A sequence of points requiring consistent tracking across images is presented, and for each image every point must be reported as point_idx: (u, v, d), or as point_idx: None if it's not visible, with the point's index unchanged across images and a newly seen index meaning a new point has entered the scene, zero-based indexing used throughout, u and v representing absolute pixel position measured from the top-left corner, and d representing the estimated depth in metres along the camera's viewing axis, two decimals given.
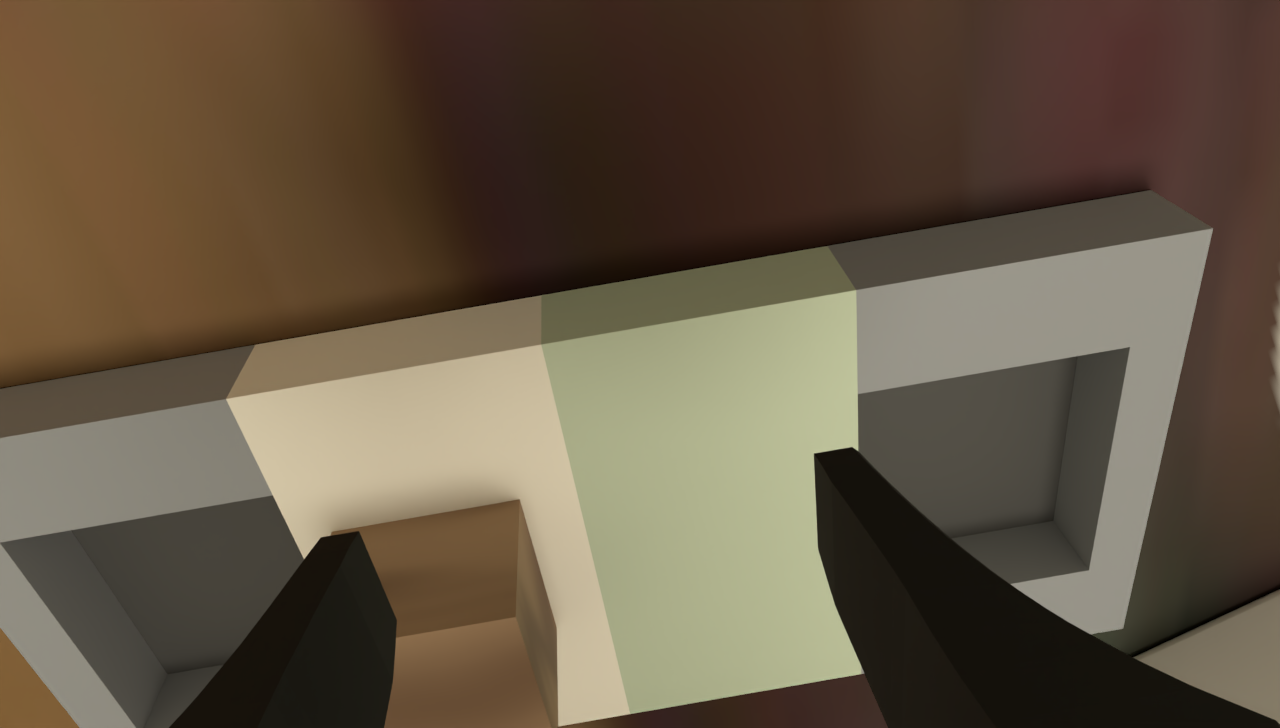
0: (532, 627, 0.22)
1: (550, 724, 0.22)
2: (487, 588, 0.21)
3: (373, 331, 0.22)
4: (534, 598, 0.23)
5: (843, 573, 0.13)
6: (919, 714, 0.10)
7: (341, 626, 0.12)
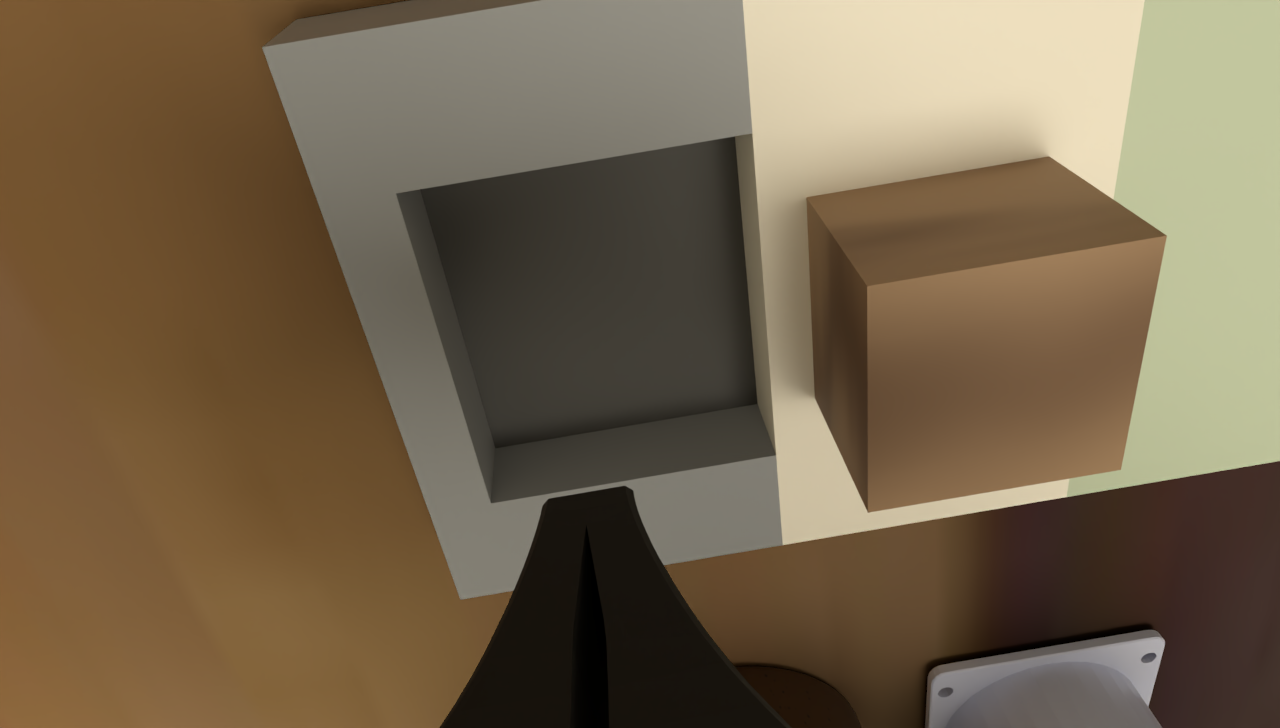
0: None
1: (1127, 427, 0.17)
2: (1093, 218, 0.15)
3: None
4: None
5: None
6: None
7: (591, 583, 0.12)
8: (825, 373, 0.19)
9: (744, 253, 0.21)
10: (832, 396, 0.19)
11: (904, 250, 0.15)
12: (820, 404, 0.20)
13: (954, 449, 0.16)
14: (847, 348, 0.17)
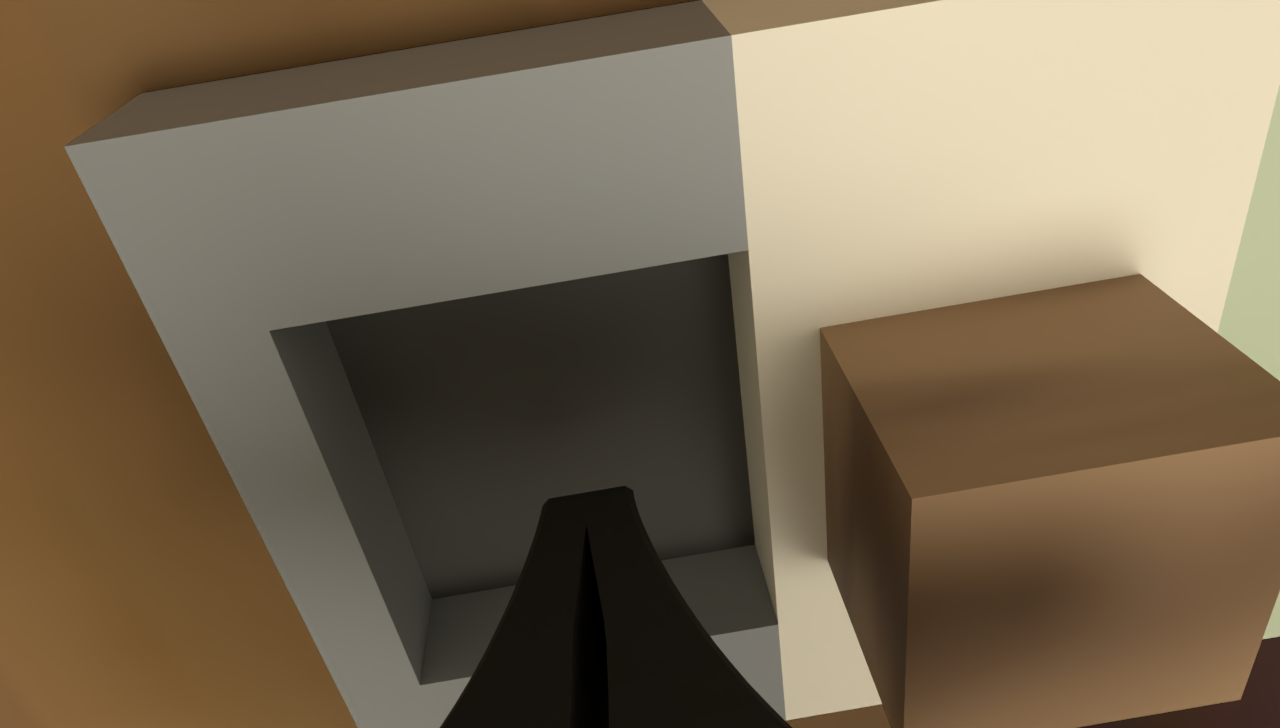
0: None
1: (1254, 651, 0.12)
2: (1222, 387, 0.11)
3: None
4: None
5: None
6: None
7: (591, 583, 0.12)
8: (843, 546, 0.15)
9: (738, 375, 0.16)
10: (852, 580, 0.14)
11: (960, 432, 0.11)
12: (835, 573, 0.16)
13: (1021, 684, 0.12)
14: (876, 547, 0.12)
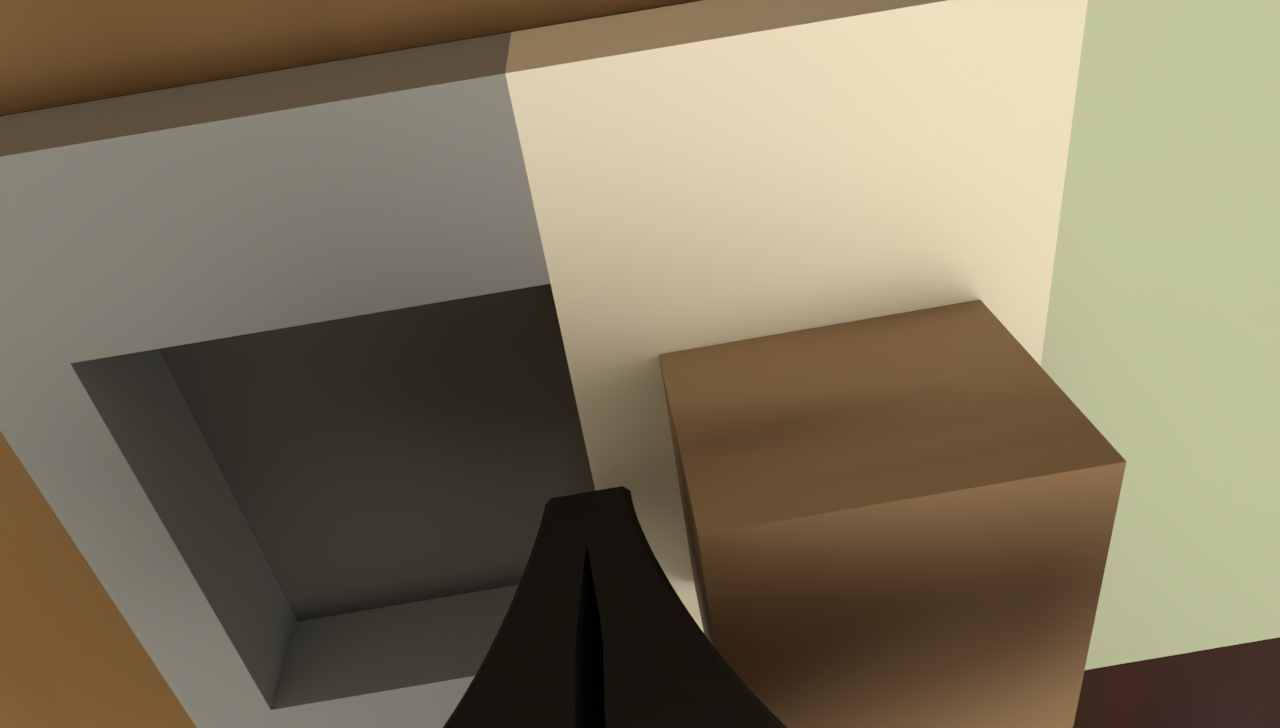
0: None
1: (1079, 680, 0.12)
2: (1026, 420, 0.11)
3: (723, 2, 0.13)
4: None
5: None
6: None
7: (594, 583, 0.12)
8: (694, 571, 0.15)
9: None
10: (701, 606, 0.14)
11: (763, 465, 0.11)
12: (697, 597, 0.16)
13: (844, 714, 0.12)
14: (699, 576, 0.12)
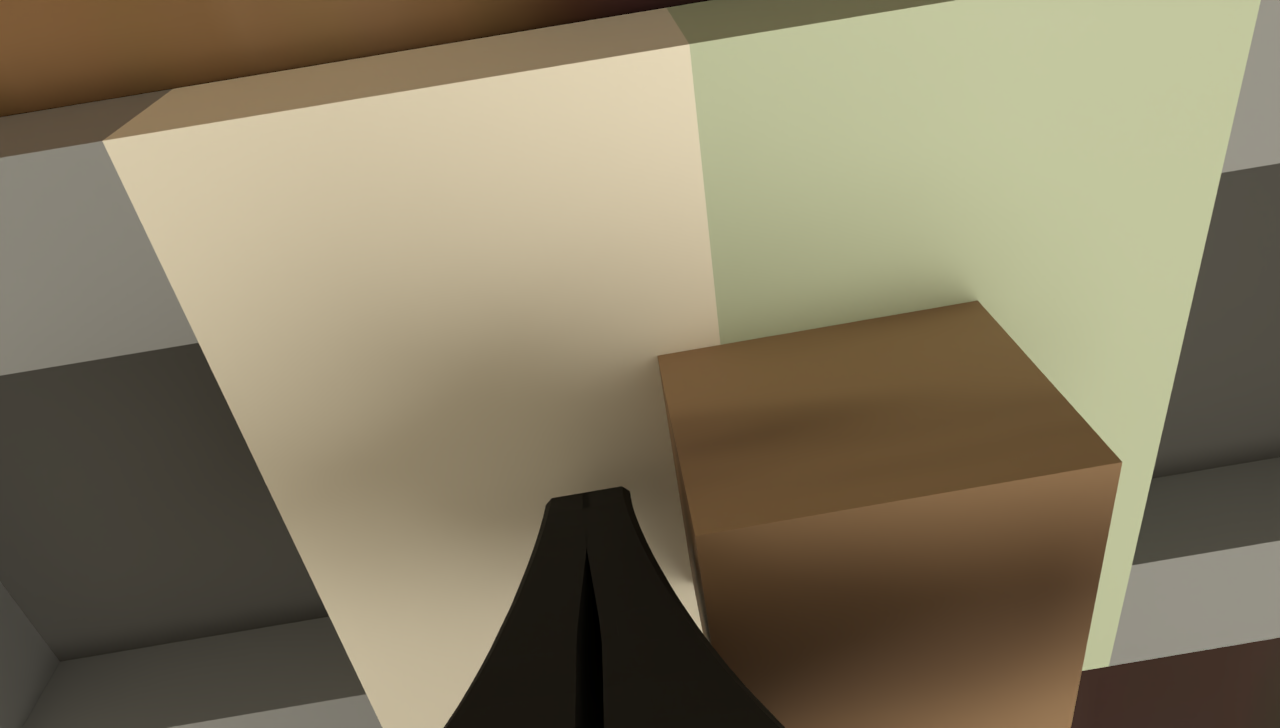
0: None
1: (1077, 680, 0.12)
2: (1023, 421, 0.11)
3: (376, 60, 0.13)
4: None
5: None
6: None
7: None
8: (693, 572, 0.15)
9: None
10: (699, 606, 0.14)
11: (760, 466, 0.11)
12: (696, 597, 0.16)
13: (842, 714, 0.12)
14: (697, 577, 0.12)
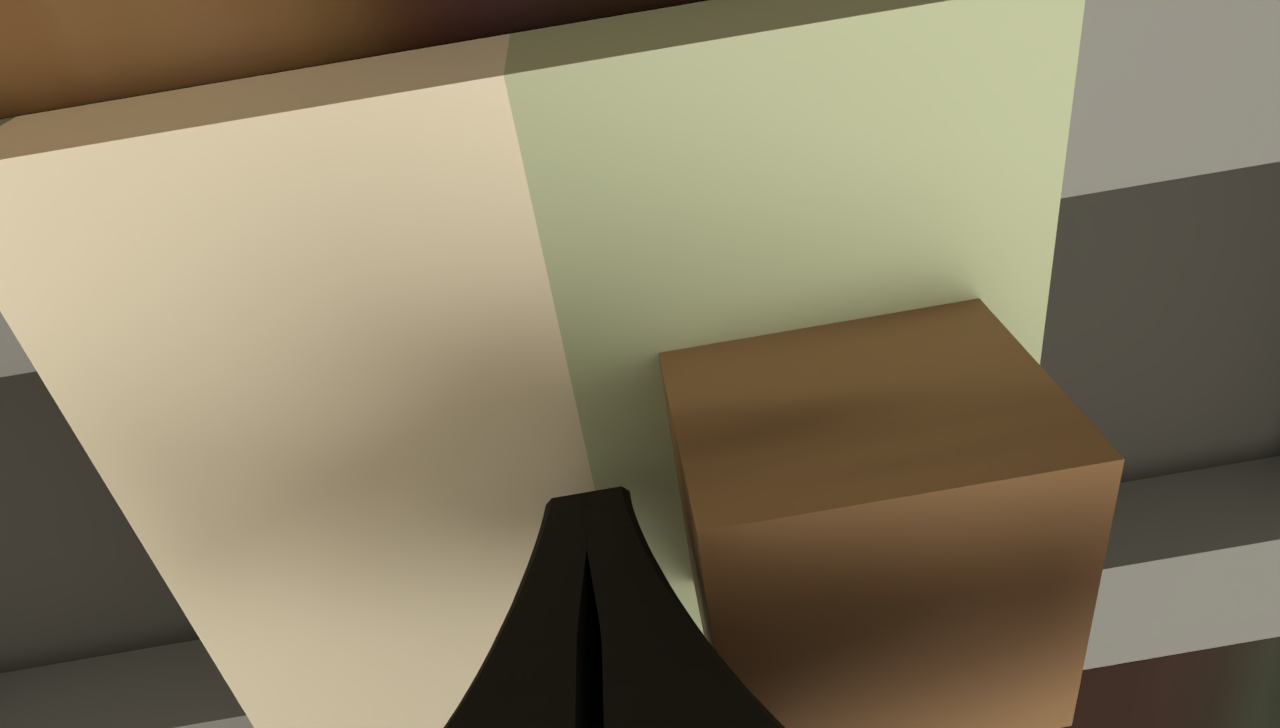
0: None
1: (1078, 678, 0.12)
2: (1025, 417, 0.11)
3: (216, 88, 0.13)
4: None
5: None
6: None
7: None
8: (694, 570, 0.15)
9: None
10: (700, 604, 0.14)
11: (762, 463, 0.11)
12: (696, 595, 0.16)
13: (843, 712, 0.12)
14: (698, 574, 0.12)
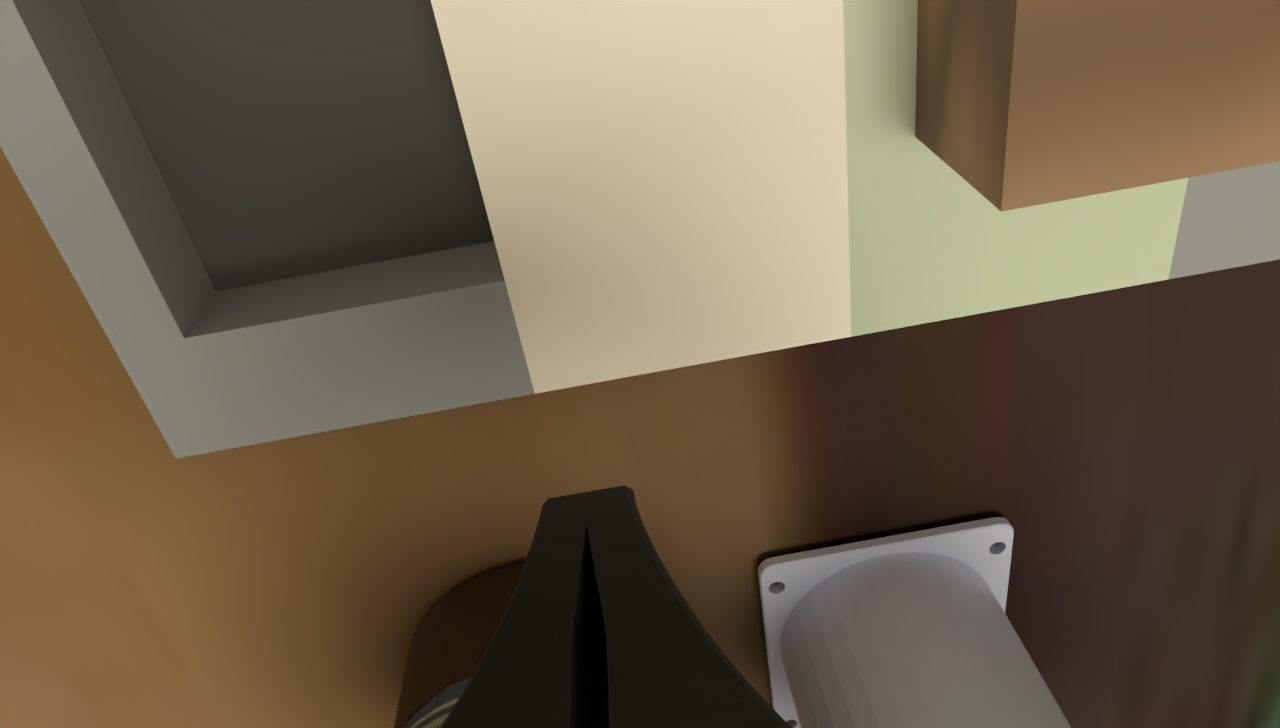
0: None
1: None
2: None
3: None
4: None
5: None
6: None
7: (591, 583, 0.12)
8: (936, 83, 0.16)
9: None
10: (947, 104, 0.16)
11: None
12: (924, 136, 0.18)
13: (1108, 122, 0.14)
14: (980, 6, 0.14)
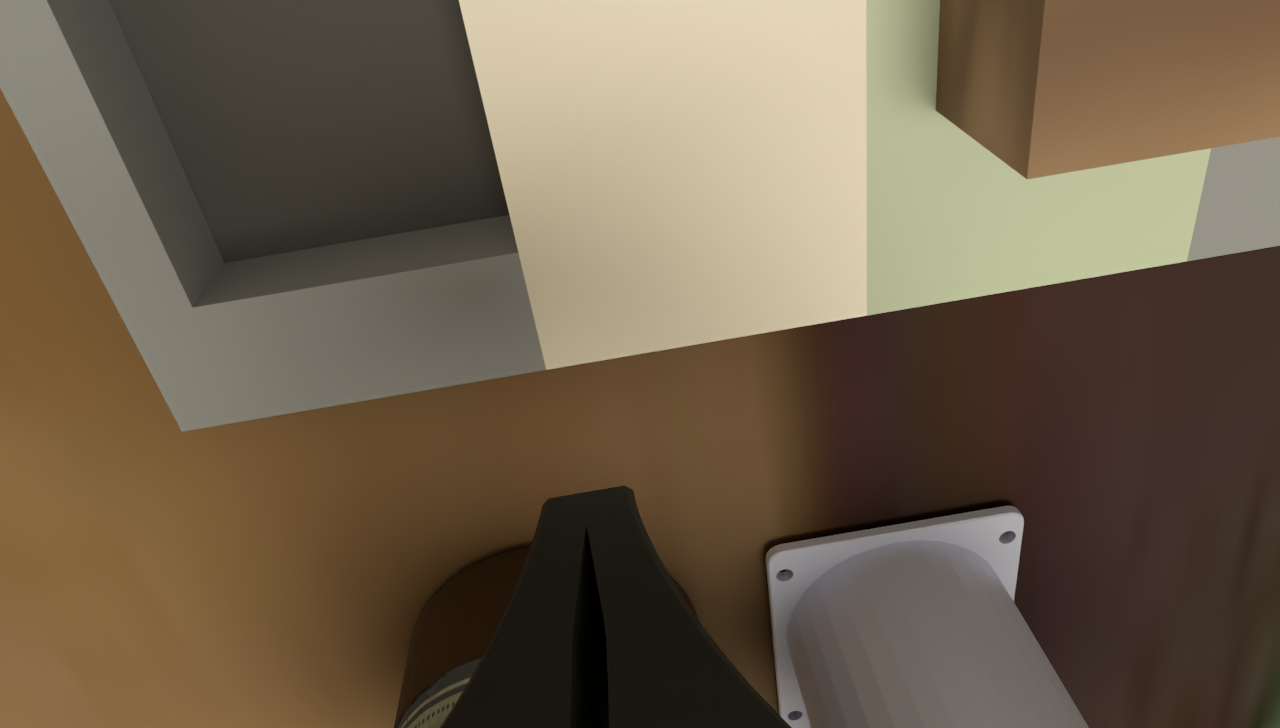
0: None
1: None
2: None
3: None
4: None
5: None
6: None
7: (591, 583, 0.12)
8: (960, 53, 0.16)
9: None
10: (970, 74, 0.16)
11: None
12: (945, 109, 0.17)
13: (1137, 88, 0.14)
14: None
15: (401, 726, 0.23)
